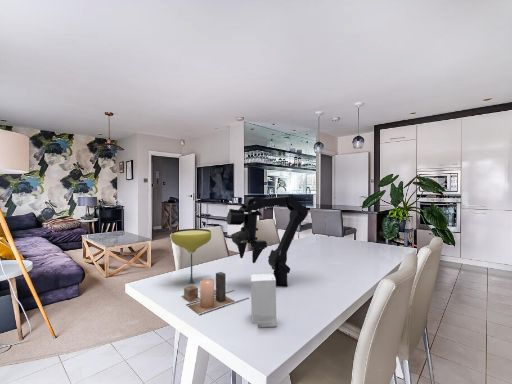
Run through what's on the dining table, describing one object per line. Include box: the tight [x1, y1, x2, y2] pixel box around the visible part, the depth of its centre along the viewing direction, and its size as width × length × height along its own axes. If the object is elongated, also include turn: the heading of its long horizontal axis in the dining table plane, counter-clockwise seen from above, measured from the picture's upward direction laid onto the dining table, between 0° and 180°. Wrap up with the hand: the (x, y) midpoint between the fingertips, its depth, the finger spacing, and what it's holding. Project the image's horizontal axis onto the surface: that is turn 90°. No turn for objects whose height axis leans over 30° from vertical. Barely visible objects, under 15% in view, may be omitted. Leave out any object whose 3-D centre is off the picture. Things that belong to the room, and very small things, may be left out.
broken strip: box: [180, 289, 216, 304], centre depth 107 cm, size 14×8×1 cm, turn 130°
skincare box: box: [250, 273, 277, 328], centre depth 88 cm, size 8×7×16 cm
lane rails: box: [185, 289, 250, 317], centre depth 101 cm, size 22×11×1 cm, turn 130°
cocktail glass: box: [170, 228, 212, 285], centre depth 121 cm, size 18×18×25 cm
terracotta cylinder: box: [199, 278, 215, 308], centre depth 98 cm, size 5×5×9 cm
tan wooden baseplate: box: [187, 271, 236, 315], centre depth 99 cm, size 16×8×12 cm, turn 130°
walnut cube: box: [183, 284, 199, 302], centre depth 105 cm, size 4×4×4 cm
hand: (247, 260), depth 116 cm, fingers open, 9 cm apart
